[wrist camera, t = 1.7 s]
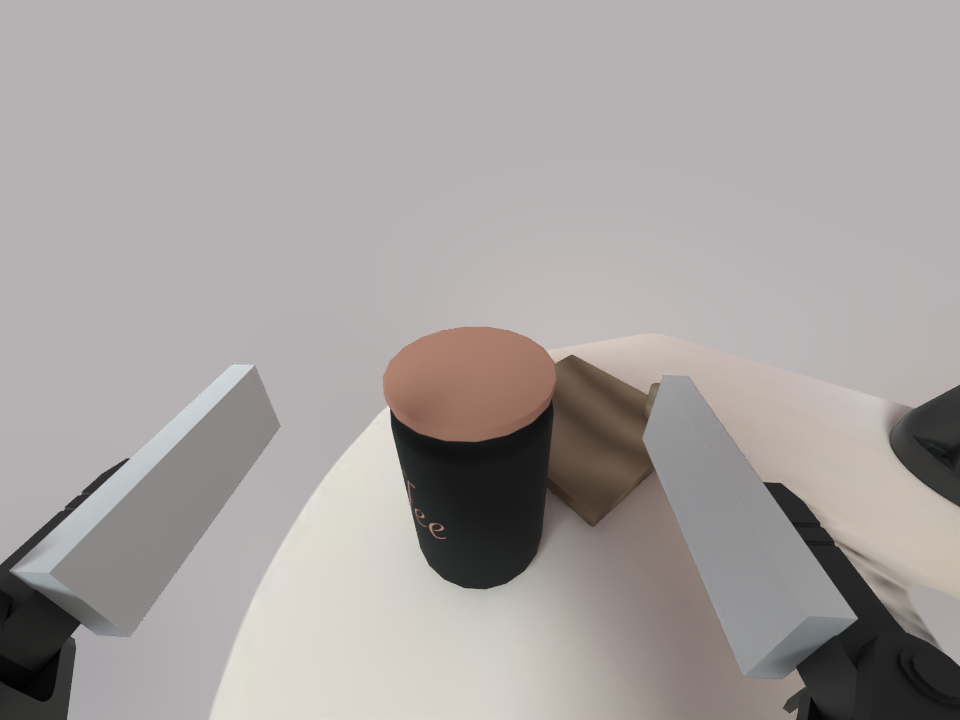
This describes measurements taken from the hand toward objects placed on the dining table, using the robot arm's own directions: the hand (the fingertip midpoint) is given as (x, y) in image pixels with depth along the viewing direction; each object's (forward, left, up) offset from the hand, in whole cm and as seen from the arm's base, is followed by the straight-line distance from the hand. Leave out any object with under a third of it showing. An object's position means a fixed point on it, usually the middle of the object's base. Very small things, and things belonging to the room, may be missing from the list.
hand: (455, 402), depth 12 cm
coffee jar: (-6, -7, -23) cm, 25 cm away
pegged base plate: (-23, -10, -23) cm, 34 cm away
